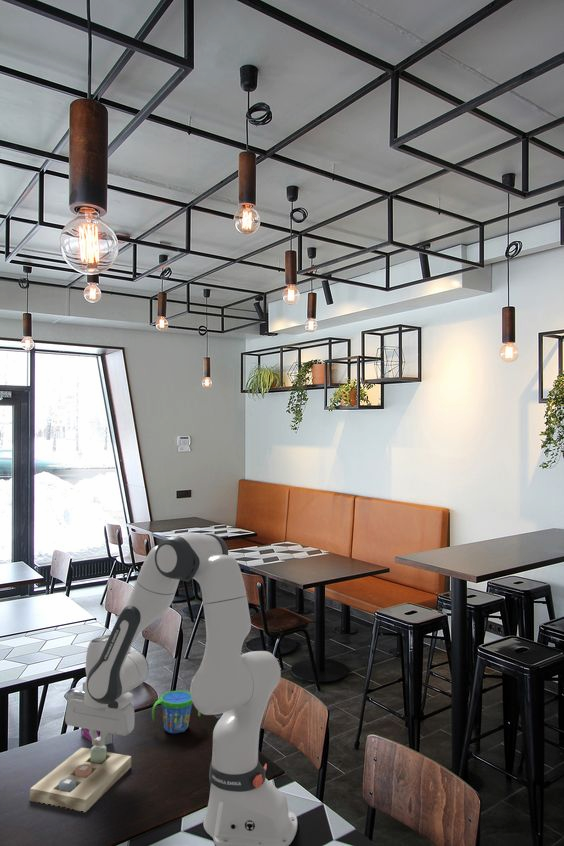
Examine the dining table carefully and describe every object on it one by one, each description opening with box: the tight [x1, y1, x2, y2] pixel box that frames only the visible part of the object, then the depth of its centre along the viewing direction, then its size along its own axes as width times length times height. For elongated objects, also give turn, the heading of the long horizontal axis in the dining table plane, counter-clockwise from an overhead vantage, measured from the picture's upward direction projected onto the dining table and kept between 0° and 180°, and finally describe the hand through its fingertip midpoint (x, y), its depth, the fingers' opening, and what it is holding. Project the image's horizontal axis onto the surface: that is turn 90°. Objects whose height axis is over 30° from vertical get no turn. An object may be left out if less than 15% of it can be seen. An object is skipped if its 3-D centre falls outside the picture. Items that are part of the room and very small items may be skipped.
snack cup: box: [151, 690, 202, 734], centre depth 191 cm, size 16×10×10 cm
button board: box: [29, 747, 132, 813], centre depth 159 cm, size 16×22×3 cm
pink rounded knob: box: [75, 764, 92, 778], centre depth 159 cm, size 4×4×4 cm
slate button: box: [59, 778, 76, 792], centre depth 152 cm, size 4×4×4 cm
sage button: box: [90, 745, 107, 765], centre depth 166 cm, size 4×4×4 cm
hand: (98, 745), depth 166 cm, fingers closed
